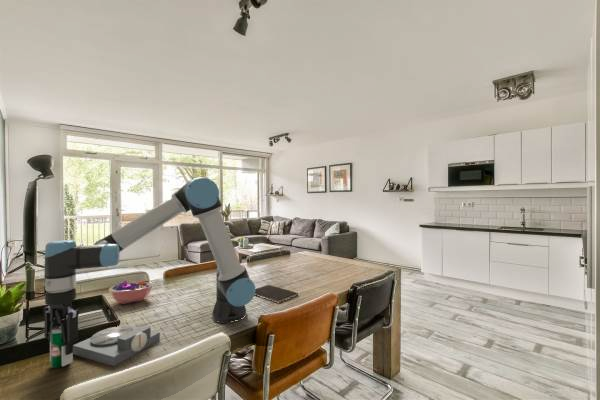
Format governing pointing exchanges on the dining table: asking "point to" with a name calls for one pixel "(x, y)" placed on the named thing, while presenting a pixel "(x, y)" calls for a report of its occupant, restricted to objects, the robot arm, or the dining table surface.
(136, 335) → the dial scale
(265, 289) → the hardcover book
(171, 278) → the dining table surface
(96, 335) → the scale pan
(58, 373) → the dining table surface
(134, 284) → the cell model
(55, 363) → the soda can
